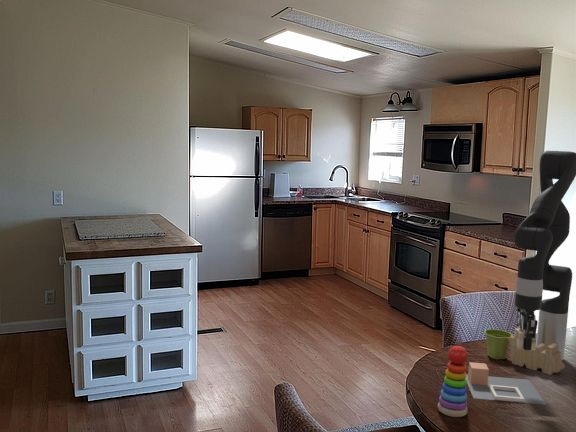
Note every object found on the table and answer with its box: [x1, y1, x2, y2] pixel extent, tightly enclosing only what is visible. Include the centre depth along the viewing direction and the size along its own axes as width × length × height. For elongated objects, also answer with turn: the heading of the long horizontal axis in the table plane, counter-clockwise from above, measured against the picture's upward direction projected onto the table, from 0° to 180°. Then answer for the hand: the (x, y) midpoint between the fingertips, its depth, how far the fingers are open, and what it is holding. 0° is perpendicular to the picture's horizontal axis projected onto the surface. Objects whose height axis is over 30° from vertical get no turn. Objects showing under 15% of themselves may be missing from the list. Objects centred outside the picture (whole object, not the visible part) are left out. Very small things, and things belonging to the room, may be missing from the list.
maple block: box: [513, 327, 537, 350], centre depth 170 cm, size 5×5×5 cm
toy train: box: [508, 335, 566, 376], centre depth 186 cm, size 6×17×10 cm, turn 44°
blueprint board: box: [465, 373, 547, 406], centre depth 168 cm, size 18×20×2 cm
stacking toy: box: [437, 345, 468, 418], centre depth 153 cm, size 8×8×19 cm
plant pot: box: [484, 328, 514, 360], centre depth 198 cm, size 9×9×9 cm
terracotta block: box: [467, 361, 490, 385], centre depth 173 cm, size 5×5×5 cm
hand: (524, 346), depth 170 cm, fingers closed on maple block, 5 cm apart
